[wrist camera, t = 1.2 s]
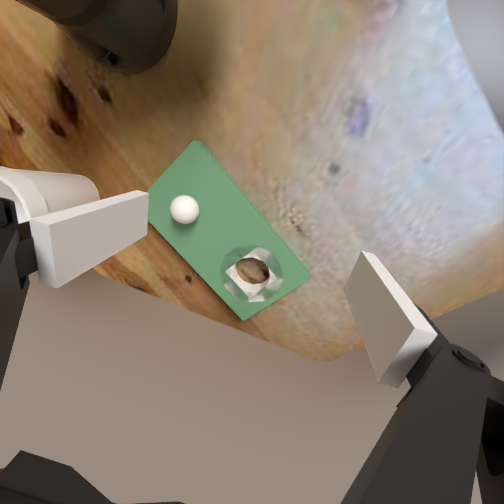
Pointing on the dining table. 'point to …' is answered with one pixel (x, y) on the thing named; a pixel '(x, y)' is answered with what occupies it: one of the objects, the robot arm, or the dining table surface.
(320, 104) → the dining table surface
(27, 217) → the foam cup
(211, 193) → the green
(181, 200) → the ball
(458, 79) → the dining table surface
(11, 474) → the robot arm
